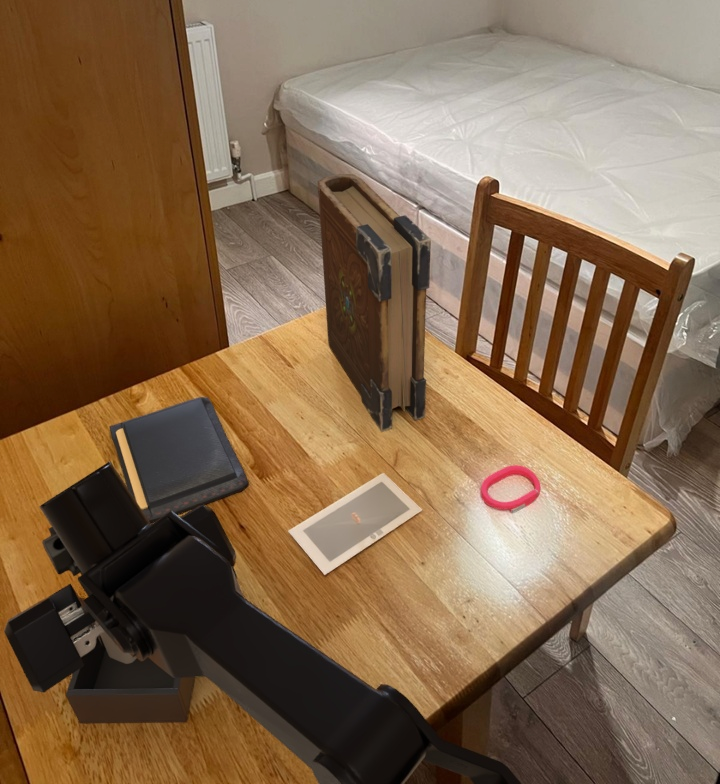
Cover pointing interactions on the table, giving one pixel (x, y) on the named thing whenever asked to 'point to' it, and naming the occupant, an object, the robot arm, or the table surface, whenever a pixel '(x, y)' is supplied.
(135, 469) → the wallet
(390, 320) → the decorative book
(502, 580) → the table surface
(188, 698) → the open storage box
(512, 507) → the fitness band
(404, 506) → the white grey flat rectangle
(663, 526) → the table surface
